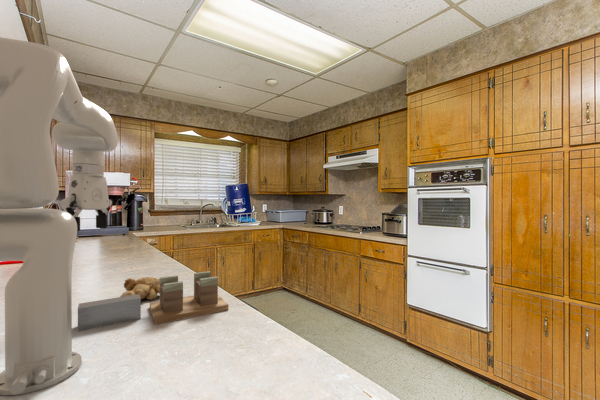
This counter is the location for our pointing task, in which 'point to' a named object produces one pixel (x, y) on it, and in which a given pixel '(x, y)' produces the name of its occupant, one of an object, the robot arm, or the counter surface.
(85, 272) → the counter surface
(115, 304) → the bracket bar
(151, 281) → the ginger root
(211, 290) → the post rig
